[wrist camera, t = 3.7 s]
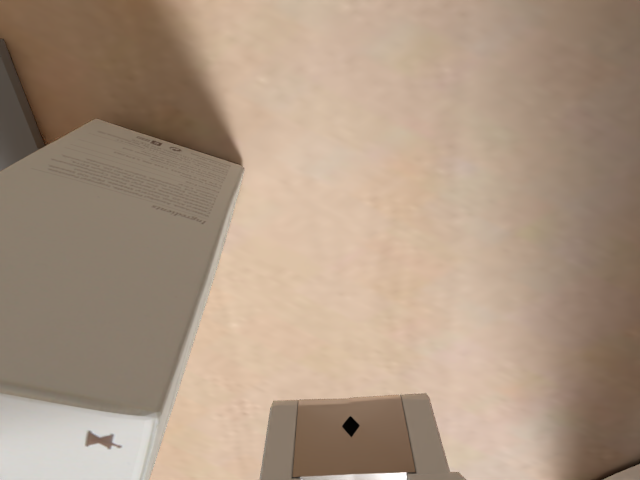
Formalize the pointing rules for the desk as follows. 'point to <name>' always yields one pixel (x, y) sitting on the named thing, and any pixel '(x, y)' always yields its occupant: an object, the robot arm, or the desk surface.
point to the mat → (15, 116)
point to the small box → (102, 297)
